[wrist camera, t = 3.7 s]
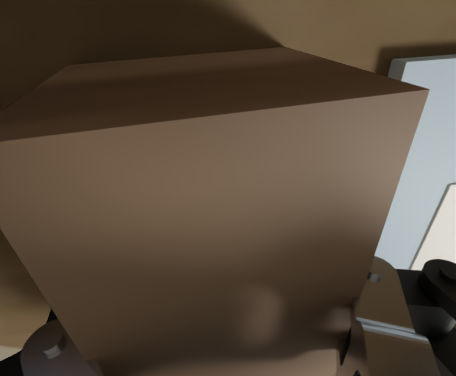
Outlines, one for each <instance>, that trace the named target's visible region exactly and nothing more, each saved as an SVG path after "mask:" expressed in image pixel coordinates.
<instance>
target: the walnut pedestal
mask: <svg viewBox="0 0 456 376" xmlns="http://www.w3.org/2000/svg"><path fill="white" fill-rule="evenodd" d="M429 91H430V89H427V88H424V87H420V86H417V85H413V84H410V83H407V82H403V81H400V80H396V79H393V78H390V77H386V76H383V75H379V74H376V73H373V72H369V71H366V70H362V69H359V68H355V67H352V66H349V65H345V64H342V63H338V62H335V61H332V60H328V59H325V58H321V57H318V56H314V55H311V54H308V53H304V52H301V51H297V50H294V49H291V48H287V47H276V48H264V49H252V50H240V51H228V52H216V53H204V54H192V55H180V56H168V57H156V58H145V59H133V60H121V61H109V62H97V63H85V64H73V65H67V66H65V67H64V68H63V69H61V70H60V71H58V72H57V73H55V74H54V75H52V76H51V77H50V78H48V79H47V80H45V81H44V82H42V83H41V84H40V85H38V86H37V87H35V88H34V89H32V90H31V91H29V92H28V93H27V94H25V95H24V96H22V97H21V98H19V99H18V100H17V101H15V102H14V103H12V104H11V105H9V106H8V107H6V108H5V109H4V110H2V111H1V112H0V229H1V231H2V232H3V234H4V235H5V237H6V238H7V240H8V242H9V243H10V245H11V246H12V248H13V249H14V251H15V252H16V254H17V256H18V257H19V259H20V260H21V262H22V263H23V265H24V266H25V268H26V270H27V271H28V273H29V274H30V276H31V277H32V279H33V281H34V282H35V284H36V285H37V287H38V288H39V290H40V291H41V293H42V295H43V296H44V298H45V299H46V301H47V302H48V304H49V305H50V307H51V309H52V310H53V312H54V313H55V315H56V316H57V318H58V319H59V321H60V323H61V324H62V326H63V327H64V329H65V330H66V332H67V333H68V335H69V337H70V338H71V340H72V341H73V343H74V344H75V346H76V347H77V349H78V351H79V352H80V354H81V355H82V357H83V358H84V360H85V361H89V360H93V359H96V360H97V362H98V364H99V365H100V367H101V369H102V371H103V373H104V375H105V376H334V375H335V372H336V369H337V365H336V347H337V344H338V341H340V340H343V339H347V336H348V333H349V330H350V327H351V321H350V310H349V308H350V305H351V302H352V299H353V297H357V296H361V294H362V291H363V288H364V285H365V282H366V279H367V276H368V273H369V270H370V267H371V264H372V261H373V258H374V255H375V252H376V249H377V246H378V243H379V240H380V237H381V234H382V231H383V228H384V225H385V222H386V219H387V216H388V213H389V210H390V207H391V204H392V201H393V198H394V195H395V192H396V189H397V186H398V183H399V180H400V177H401V174H402V171H403V168H404V165H405V162H406V159H407V156H408V153H409V150H410V147H411V144H412V141H413V138H414V135H415V132H416V130H417V127H418V124H419V121H420V118H421V115H422V112H423V109H424V106H425V103H426V100H427V97H428V94H429Z"/></svg>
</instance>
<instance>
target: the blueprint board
mask: <svg viewBox="0 0 456 376" xmlns="http://www.w3.org/2000/svg"><path fill="white" fill-rule="evenodd" d="M388 77H390V78H393V79H396V80H400V81H403V82H407V83H410V84H413V85H417V86H420V87H424V88H427V89H430V91H429V94H428V97H427V100H426V103H425V106H424V109H423V112H422V115H421V118H420V121H419V124H418V127H417V130H416V132H415V135H414V138H413V141H412V144H411V147H410V150H409V153H408V156H407V159H406V162H405V165H404V168H403V171H402V174H401V177H400V180H399V183H398V186H397V189H396V192H395V195H394V198H393V201H392V204H391V207H390V210H389V213H388V216H387V219H386V222H385V225H384V228H383V231H382V234H381V237H380V240H379V243H378V246H377V249H376V252H375V255H374V256H377V257H380V258H382V259H384V260H385V261H387V262H388V263H390V264H391V265H392V266H393V267H394V268H395V269H406V270H422V268H423V266H424V264H425V263H426V262H427V261H429V260H432V259H443V260H447V261H451V262H453V263H456V54H451V55H438V56H425V57H412V58H399V59H392V62H391V66H390V69H389V73H388Z"/></svg>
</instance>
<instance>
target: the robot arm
mask: <svg viewBox="0 0 456 376" xmlns="http://www.w3.org/2000/svg"><path fill="white" fill-rule="evenodd" d="M349 310H350V321H351V327H350V330H349V333H348V336H347V339H343V340H340V341H338V344H337V347H336V365H337V374H336V376H456V329H455V328H454V326H455V324H456V263H453V262H451V261H447V260H443V259H432V260H429V261H427V262H426V263H425V264H424V266H423V268H422V270H406V269H395V268H394V267H393V266H392V265H391V264H390V263H388V262H387V261H385V260H384V259H382V258H380V257H377V256H374V258H373V261H372V264H371V267H370V270H369V273H368V276H367V279H366V282H365V285H364V288H363V291H362V294H361V296H357V297H353V299H352V302H351V305H350V308H349ZM0 376H105V375H104V373H103V371H102V369H101V367H100V365H99V364H98V362H97V360H96V359H93V360H89V361H85V360H84V358H83V357H82V355H81V354H80V352H79V351H78V349H77V347H76V346H75V344H74V343H73V341H72V340H71V338H70V337H69V335H68V333H67V332H66V330H65V329H64V327H63V326H62V324H61V323H60V321H59V319H58V318H57V316H56V315H55V313H54V312H53V310H52V309H51V311H50V314H49V317H48V320H47V322H46V324H44V325H43V326H41V327H40V328H39V329H37V330H36V331H35V332H34V333H33V334H32V335H31V336H30V337H29V338H28V340H27V341H26V343H25V344H24V346H23V348H22V350H21V351H20V352H18V353H16V354H14V355H12V356H10V357H8V358H6V359H4V360H2V361H0Z"/></svg>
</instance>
